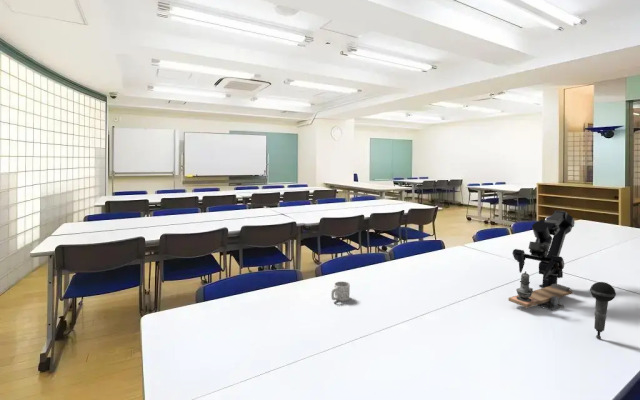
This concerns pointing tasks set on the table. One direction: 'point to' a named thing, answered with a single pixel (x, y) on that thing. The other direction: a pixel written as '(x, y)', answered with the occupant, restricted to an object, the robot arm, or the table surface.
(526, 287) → the grey rounded piece
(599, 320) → the microphone
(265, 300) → the table surface
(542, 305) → the beam stand
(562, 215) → the robot arm
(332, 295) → the mug
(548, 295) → the beam
